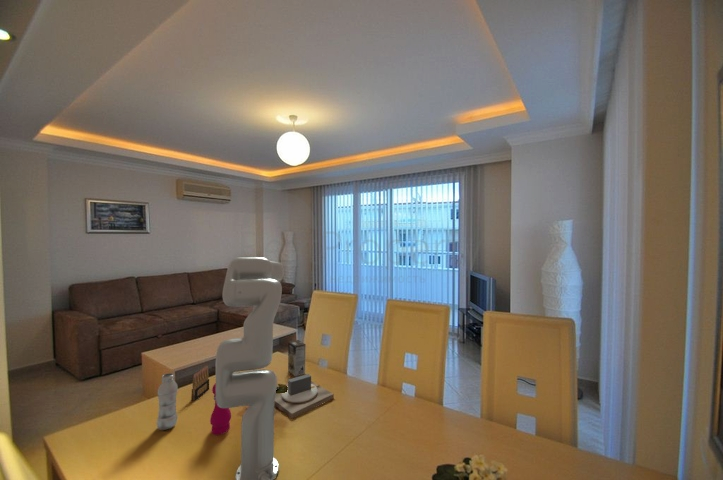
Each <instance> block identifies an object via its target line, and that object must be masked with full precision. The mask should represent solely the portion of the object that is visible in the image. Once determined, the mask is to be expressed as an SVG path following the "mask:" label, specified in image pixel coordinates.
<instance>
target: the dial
mask: <svg viewBox="0 0 723 480" xmlns="http://www.w3.org/2000/svg"><path fill="white" fill-rule="evenodd" d="M311 381H312V376H311V375H310V374H309V373H307V374H306V373H305V374H302V375H298V376H295V377H293V378H289V379H287V385H288V386H287V387H288V390H287V392H285V393H282V398H283V399H284V400H285V401H288V402H292V403H301V402H306V401H309V400H311V399H313V398H314V397H315V396H316V395H317V387H316V386H315V385H313V384H311Z"/></svg>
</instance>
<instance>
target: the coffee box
mask: <svg viewBox="0 0 723 480" xmlns="http://www.w3.org/2000/svg"><path fill="white" fill-rule="evenodd" d="M287 342H288V343H287V344H288V347H287V354H288V357H287V362H288V363H287V364H288V365H287V371H288V372H289V373H290V374H291V375H292V376H293V377H299V376H303V375H306V347H307V346H306V344H305V343H304V342H302V341H301V340H300V339H297V340H292V341H291V340H290V341H287Z"/></svg>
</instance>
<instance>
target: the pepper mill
mask: <svg viewBox="0 0 723 480" xmlns="http://www.w3.org/2000/svg"><path fill="white" fill-rule="evenodd" d="M211 391H212V392H211V393H212V394H213V400H214V408H213V410H212V413H211V415H210V421H209V422H210V425H211V434H212V435H215V436H216V435H217V436H218V435H219V436H220V435H223V434H225V433H227V432H229V430H230V427H231V425H230V421H231V419H232V413H231V408H220V407H218V405H217V403H216V382H215V383H214V384H213V386H212V390H211Z"/></svg>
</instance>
